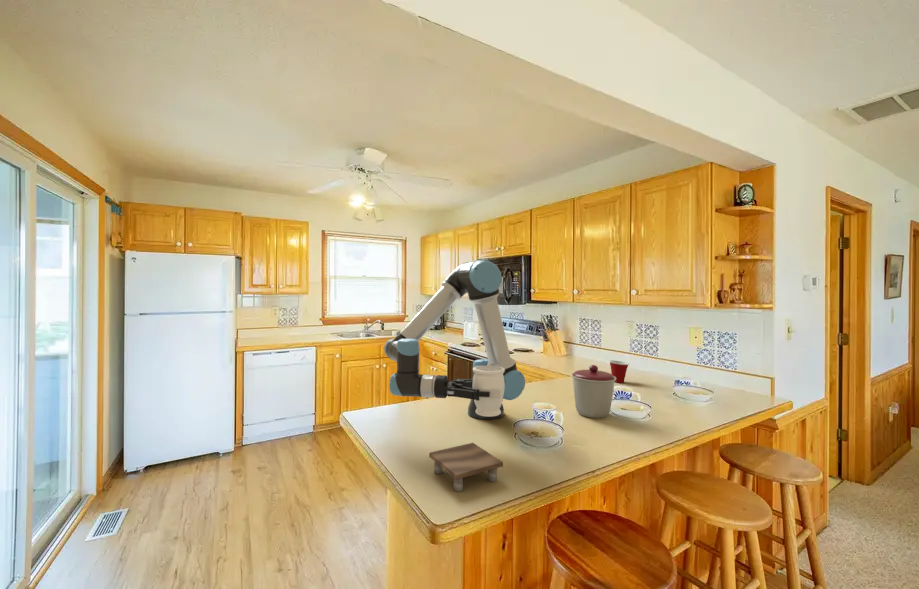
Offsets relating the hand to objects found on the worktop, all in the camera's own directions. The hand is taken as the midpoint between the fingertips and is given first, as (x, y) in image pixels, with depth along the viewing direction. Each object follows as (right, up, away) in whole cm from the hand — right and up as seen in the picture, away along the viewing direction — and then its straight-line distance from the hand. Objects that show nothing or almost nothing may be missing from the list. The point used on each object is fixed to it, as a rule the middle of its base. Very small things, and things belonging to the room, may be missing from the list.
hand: (501, 389), depth 127 cm
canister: (+43, -20, +37) cm, 60 cm away
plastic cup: (+79, -20, +96) cm, 125 cm away
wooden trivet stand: (-12, -19, -19) cm, 30 cm away
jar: (-4, -8, +1) cm, 9 cm away
